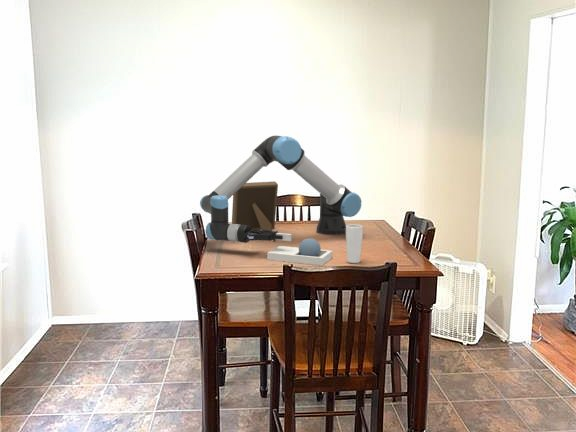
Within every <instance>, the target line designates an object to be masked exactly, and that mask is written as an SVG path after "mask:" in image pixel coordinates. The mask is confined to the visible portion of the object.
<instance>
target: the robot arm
mask: <svg viewBox="0 0 576 432" xmlns="http://www.w3.org/2000/svg"><path fill="white" fill-rule="evenodd" d="M305 153H306V152H305V150H304V149H303V148H302V147H301V144H300V142H299V141H298V140H297V139H295V138H293V137H291V136H285V135H271V136H269V137H267V138H265V139H264V140H263V141H262V142H260V144H258V146H256V147H255V148H254V149H253V151H252V152H251V155H250V156H249V157H248V158H247V159H246V160H244V162H243V163H242V164H240V165H239V166H238V168H236V169H235V170H234V171H233V172H231V174H230V175H229V176H228V177H227V178H225V180H223V182H221V183H220V184H219V185H218V186H217V187H216V188H215V189H214V190H213V191H211V192H210V193H209V194H207V195H204V196H202V197H201V198H200V201H199V205H200V208H201V209H202V210H203V212H205V213H207V214H210V219H211V220H210V221H211V222H208V223H207V224H206V225H205V236H206V237H207V238H208V239H210V240H215V241H223V242H224V241H226V242H232V243H233V244H234V243H236V242H239V243H245V244H247V243H248V242H250V241H264V242H265V241H268V242H272V241H273V242H274V243H276V241H283V242H284V241H285V242H292V240H293V239H292V235H293V234H292V233H285V232H283V233H282V232H278V230H276V231H275V230H272V231H269V230H264V229H260V230H257V229H253V230H251V228H250V226H249V225H240V224H232V223H229V199H230V198H231V197H233V195H234V194H235V193H236V192H237V191H238V190H239V189H240V188H241V187H242V186H243V185H244V184H245V183H248V182H249V181H250V180H251V179H252V178H253V177H254V176H255V175H256V174H257V173H258V172H259V171H261V169H263V168H264V167H268V166H269V165H270V164H271V163H273V162H277V163H278V164H280V165H281V166H282V167H284V168H285V169H286V170H287V171H291V170H292V171H294V173H296V174H297V175H298V176H299V177H300V178H301V179H303V180H304V181H305V182H306V183H307V184H309V185H310V186H311V187H312V188H313V189H314V190H315V191H317V192H318V193H319V219H318V221H317V225H316V232H317V234H322V235H341V234H346V226H347V225H346V222H345V218H344V217H346V218H347V217H348V218H352V217H355V216H356V215H358V213H359V212H360V210H361V208H362V198H361V197H360V195H359V194H357V192H352V191H351V190H350V189H349V188H347V187H346V186H345V185H344V184H343V183H342V184H338V183H337V182H335V180H333V179H332V178H331V177H330V176H329V175H328V174H327V173H325V172H324V171H323V170H322V169H321V168H320V167H318V165H316V164H315V163H314V162H313V161H312V160H311V159H309V157H307V156H306V155H305ZM273 242H272V243H273Z"/></svg>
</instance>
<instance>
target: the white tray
mask: <svg viewBox="0 0 576 432" xmlns="http://www.w3.org/2000/svg"><path fill="white" fill-rule="evenodd" d="M266 254H267V255H266V256H267V258H266V259H267V261H275V262H283V261H285V262H286V263H296V264H304V265H305V264H306V265H315V266H324V265H325V264H327V263H328V262H329V261H330V260H331V259H333V254H334V252H333V250H328V249H321V251H320V254H319V256H318V257H313V256H303V255H300V253H299V247H295V246H284V245H279V246H277V247H275V248H273V249H271V250H270V251H268V252H267V253H266Z"/></svg>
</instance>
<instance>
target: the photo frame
mask: <svg viewBox="0 0 576 432" xmlns="http://www.w3.org/2000/svg"><path fill="white" fill-rule="evenodd" d="M278 188H279V185H278V183H277V181H259V182H258V181H257V182H246V183H245V184H244V185H243V186H242V187H241V188H240V189H239V190H238V191H237V192H236V193H235V194H234V195H232V211H231V213H232V215H231V224H240V225H249V226H250V228H251V230H253V229H257V230H260V229H264V230H269V231H273V230H274V229H275V225H276V214H277V200H278Z"/></svg>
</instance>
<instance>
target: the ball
mask: <svg viewBox="0 0 576 432" xmlns="http://www.w3.org/2000/svg"><path fill="white" fill-rule="evenodd" d="M298 248H299V253H300V255H303V256H313V257H318V256H319V254H320V251H321V250H322V249H321V245H320V243H319V242H318V241H317V239H314V238H305V239H303V240H301V241H300V244H299V245H298Z"/></svg>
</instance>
